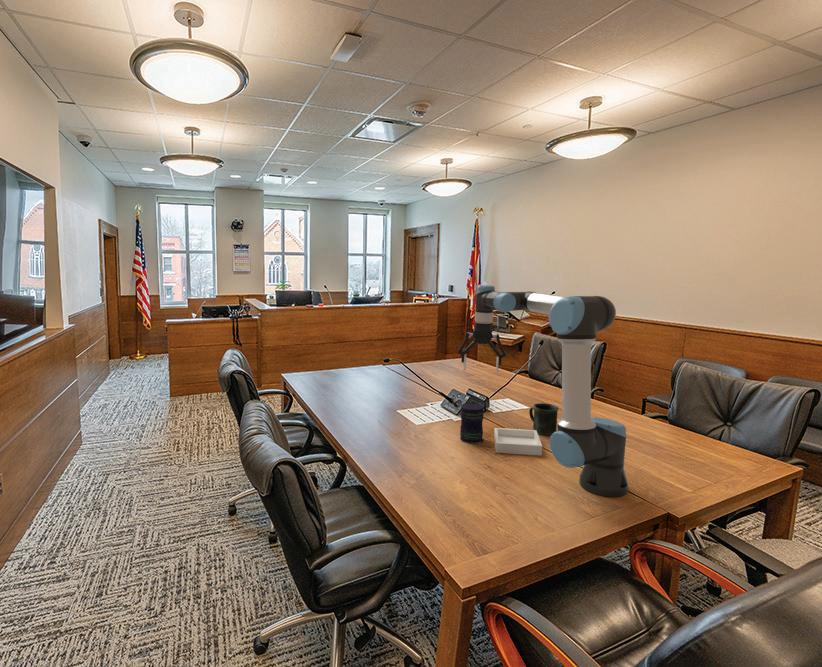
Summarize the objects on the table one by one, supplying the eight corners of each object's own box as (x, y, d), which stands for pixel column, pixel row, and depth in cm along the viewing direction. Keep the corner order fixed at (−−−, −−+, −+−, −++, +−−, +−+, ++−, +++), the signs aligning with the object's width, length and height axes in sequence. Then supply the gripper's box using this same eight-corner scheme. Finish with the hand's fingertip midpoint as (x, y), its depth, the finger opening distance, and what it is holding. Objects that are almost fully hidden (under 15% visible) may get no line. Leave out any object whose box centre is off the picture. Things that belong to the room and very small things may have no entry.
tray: (541, 455, 173) (542, 445, 173) (495, 452, 176) (496, 443, 175) (535, 439, 191) (536, 430, 190) (494, 436, 194) (494, 427, 193)
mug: (546, 438, 192) (548, 411, 190) (521, 428, 204) (522, 403, 202) (562, 433, 198) (563, 407, 196) (537, 424, 210) (538, 400, 208)
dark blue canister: (482, 444, 184) (483, 410, 182) (459, 442, 186) (459, 408, 184) (483, 436, 194) (484, 403, 192) (461, 434, 196) (461, 402, 194)
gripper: (513, 322, 184) (509, 371, 188) (454, 319, 188) (452, 366, 192) (514, 325, 177) (510, 375, 180) (453, 321, 181) (450, 371, 184)
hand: (480, 371), depth 186 cm, fingers open, 13 cm apart
